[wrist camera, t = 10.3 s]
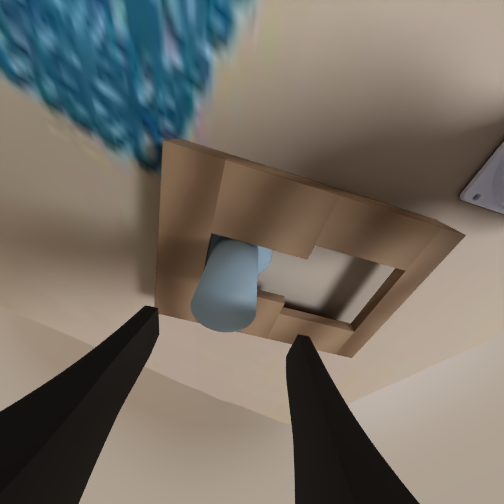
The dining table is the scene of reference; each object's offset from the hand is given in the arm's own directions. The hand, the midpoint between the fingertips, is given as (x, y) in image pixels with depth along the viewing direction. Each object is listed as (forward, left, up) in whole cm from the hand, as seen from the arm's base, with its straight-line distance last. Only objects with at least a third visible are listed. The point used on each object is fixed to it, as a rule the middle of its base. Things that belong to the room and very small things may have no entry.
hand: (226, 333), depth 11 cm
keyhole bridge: (-4, +1, -10) cm, 11 cm away
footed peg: (0, +1, -10) cm, 10 cm away
